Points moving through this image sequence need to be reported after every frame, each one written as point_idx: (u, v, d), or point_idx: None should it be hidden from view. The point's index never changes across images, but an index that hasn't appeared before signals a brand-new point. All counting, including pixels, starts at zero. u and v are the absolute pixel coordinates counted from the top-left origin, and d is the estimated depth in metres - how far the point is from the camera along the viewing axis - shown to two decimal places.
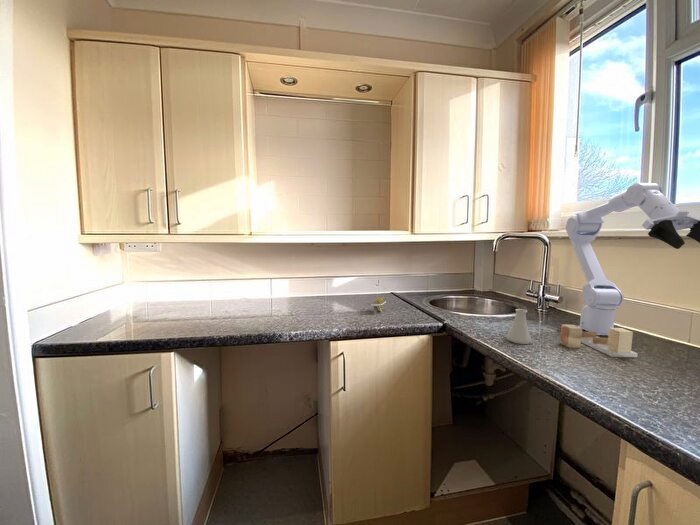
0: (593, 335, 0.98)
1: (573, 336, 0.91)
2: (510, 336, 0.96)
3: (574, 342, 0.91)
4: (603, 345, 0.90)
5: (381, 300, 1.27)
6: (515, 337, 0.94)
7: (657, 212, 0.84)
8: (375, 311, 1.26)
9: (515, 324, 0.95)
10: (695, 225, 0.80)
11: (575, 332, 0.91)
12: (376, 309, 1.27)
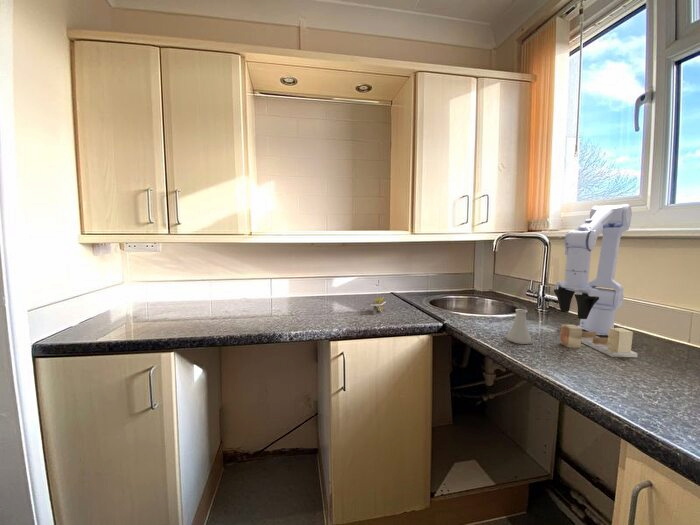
0: (593, 335, 0.98)
1: (573, 336, 0.91)
2: (510, 336, 0.96)
3: (574, 342, 0.91)
4: (603, 345, 0.90)
5: (381, 300, 1.27)
6: (515, 337, 0.94)
7: None
8: (375, 311, 1.26)
9: (515, 324, 0.95)
10: None
11: (575, 332, 0.91)
12: (376, 309, 1.27)
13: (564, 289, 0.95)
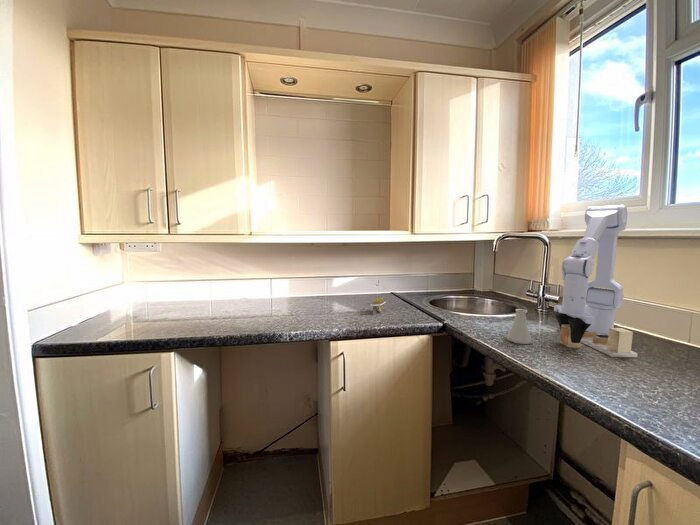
0: (593, 335, 0.98)
1: None
2: (510, 336, 0.96)
3: None
4: (603, 345, 0.90)
5: (380, 300, 1.27)
6: (515, 337, 0.94)
7: None
8: (374, 311, 1.25)
9: (515, 324, 0.95)
10: None
11: None
12: (375, 309, 1.26)
13: None
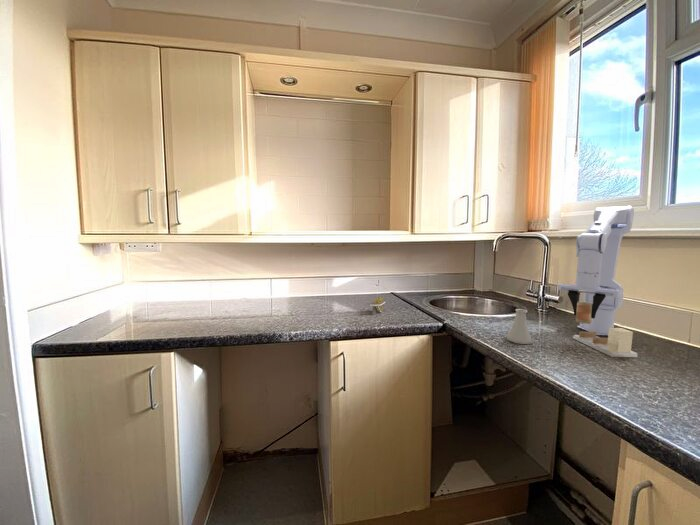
0: (593, 335, 0.98)
1: (591, 312, 0.92)
2: (510, 336, 0.96)
3: (591, 318, 0.92)
4: (603, 345, 0.90)
5: (380, 300, 1.26)
6: (515, 337, 0.94)
7: (576, 276, 0.94)
8: (374, 311, 1.25)
9: (515, 324, 0.95)
10: (594, 295, 0.91)
11: (592, 308, 0.92)
12: (375, 309, 1.26)
13: (570, 291, 0.95)
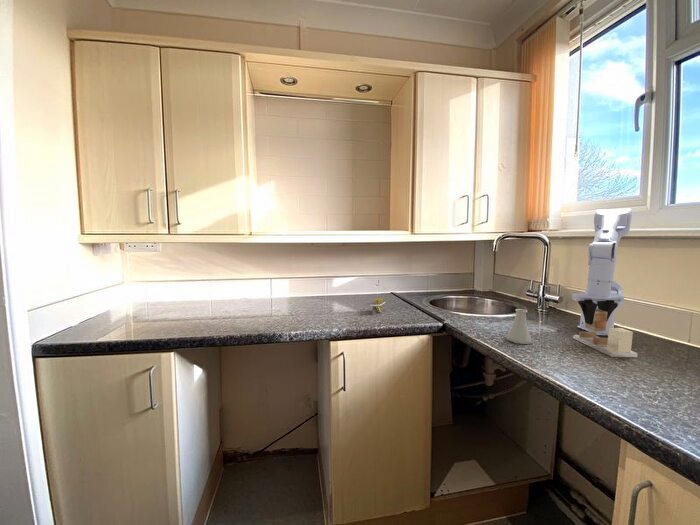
0: (593, 335, 0.98)
1: None
2: (510, 336, 0.96)
3: None
4: (603, 345, 0.90)
5: (380, 300, 1.26)
6: (515, 337, 0.94)
7: (592, 285, 0.93)
8: (374, 312, 1.25)
9: (515, 324, 0.95)
10: (606, 302, 0.93)
11: None
12: (375, 310, 1.26)
13: None
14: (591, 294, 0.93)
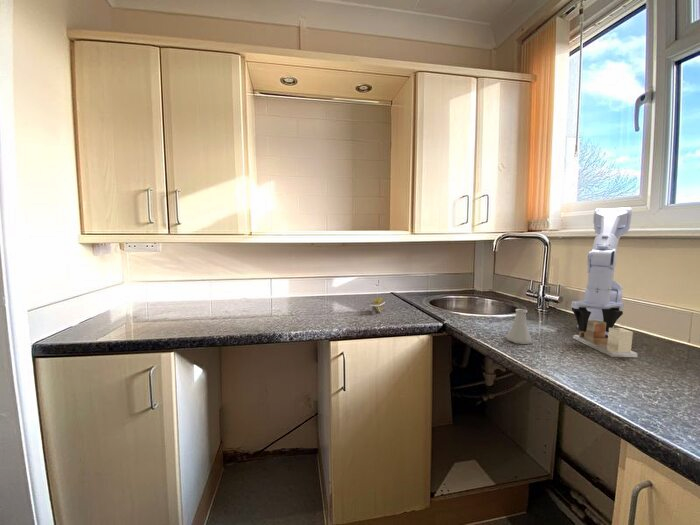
0: None
1: None
2: (510, 336, 0.96)
3: None
4: (603, 345, 0.90)
5: (380, 301, 1.26)
6: (515, 337, 0.94)
7: (591, 293, 0.93)
8: (374, 312, 1.25)
9: (515, 324, 0.95)
10: (610, 310, 0.94)
11: None
12: (375, 310, 1.26)
13: None
14: (590, 302, 0.93)
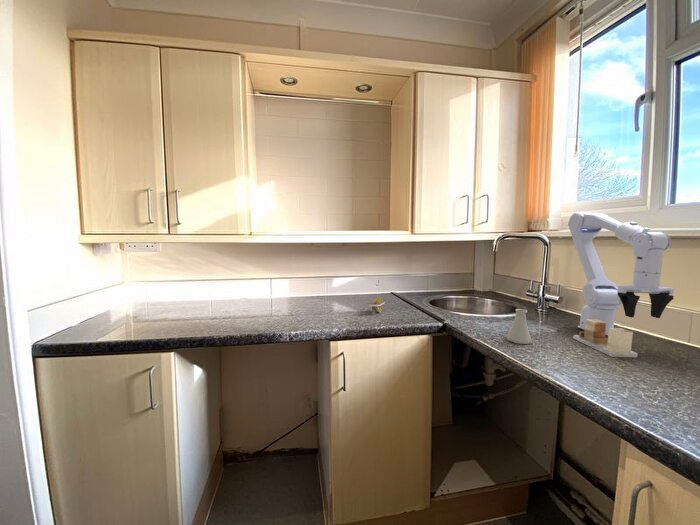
0: None
1: None
2: (510, 336, 0.96)
3: None
4: (603, 345, 0.90)
5: (380, 301, 1.26)
6: (515, 337, 0.94)
7: (640, 277, 0.90)
8: (373, 312, 1.25)
9: (515, 324, 0.95)
10: (660, 295, 0.90)
11: None
12: (374, 310, 1.26)
13: None
14: (638, 286, 0.90)
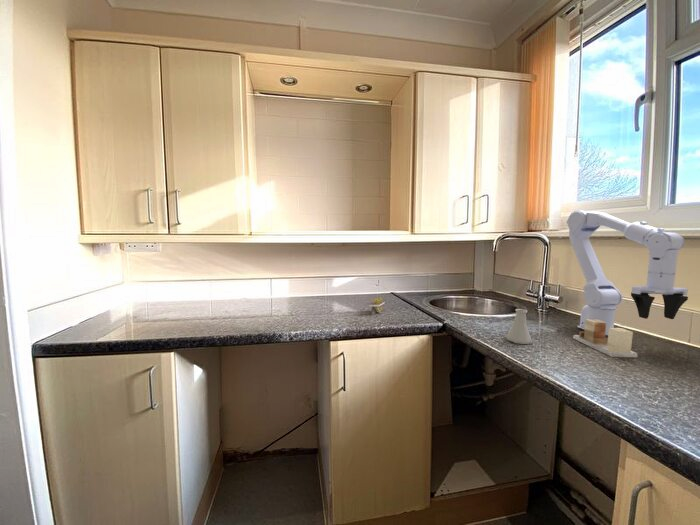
0: None
1: None
2: (510, 336, 0.96)
3: None
4: (603, 345, 0.90)
5: (379, 301, 1.25)
6: (515, 337, 0.94)
7: (654, 277, 0.89)
8: (373, 312, 1.24)
9: (515, 324, 0.95)
10: (674, 295, 0.89)
11: None
12: (374, 310, 1.25)
13: None
14: (653, 287, 0.89)
